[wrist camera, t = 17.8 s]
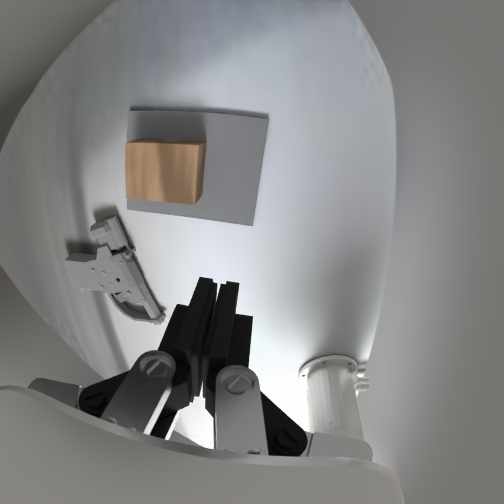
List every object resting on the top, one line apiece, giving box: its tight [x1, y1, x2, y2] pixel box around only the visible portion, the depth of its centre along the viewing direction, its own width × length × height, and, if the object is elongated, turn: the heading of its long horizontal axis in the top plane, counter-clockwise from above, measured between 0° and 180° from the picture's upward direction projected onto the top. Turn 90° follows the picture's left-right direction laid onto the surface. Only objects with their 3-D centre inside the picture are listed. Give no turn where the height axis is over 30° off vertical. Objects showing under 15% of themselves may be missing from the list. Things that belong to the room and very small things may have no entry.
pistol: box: [63, 216, 166, 325], centre depth 42 cm, size 20×3×16 cm
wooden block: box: [125, 138, 207, 205], centre depth 31 cm, size 4×7×9 cm
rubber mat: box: [127, 111, 269, 226], centre depth 33 cm, size 18×14×1 cm
